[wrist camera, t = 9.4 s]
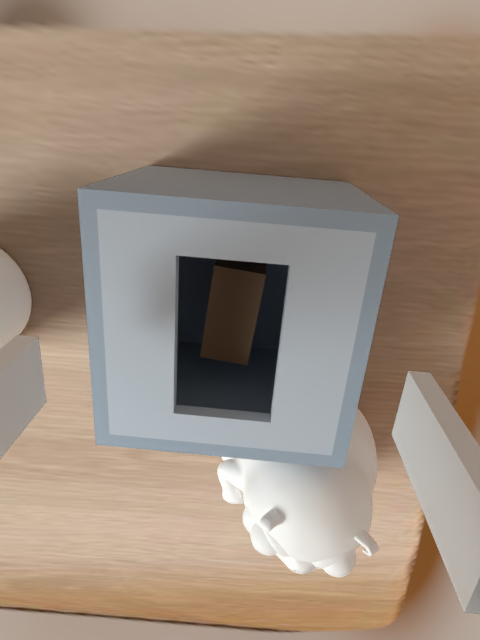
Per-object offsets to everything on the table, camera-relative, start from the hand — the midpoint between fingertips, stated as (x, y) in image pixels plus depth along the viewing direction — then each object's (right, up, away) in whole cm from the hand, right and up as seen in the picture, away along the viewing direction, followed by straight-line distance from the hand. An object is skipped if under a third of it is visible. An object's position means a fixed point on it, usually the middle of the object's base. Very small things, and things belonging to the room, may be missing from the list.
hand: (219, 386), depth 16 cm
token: (+1, +5, +12) cm, 14 cm away
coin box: (+1, +6, +13) cm, 14 cm away
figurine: (+5, -4, +17) cm, 19 cm away
